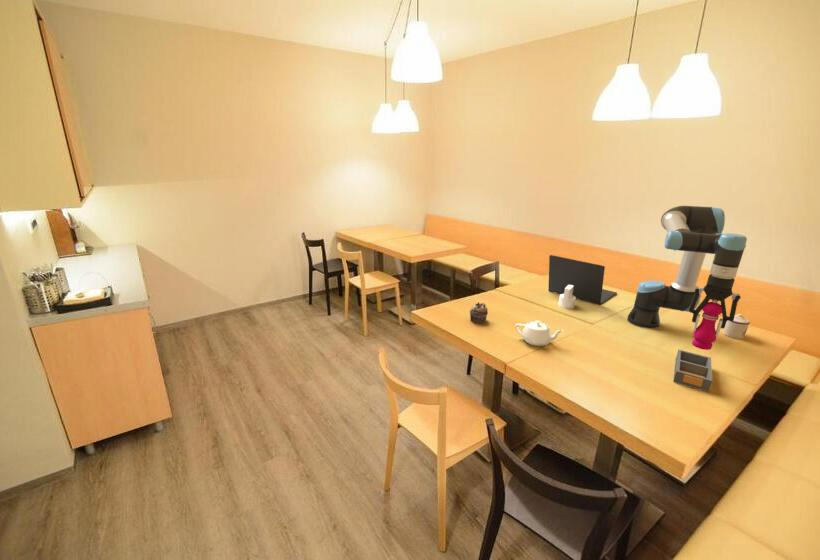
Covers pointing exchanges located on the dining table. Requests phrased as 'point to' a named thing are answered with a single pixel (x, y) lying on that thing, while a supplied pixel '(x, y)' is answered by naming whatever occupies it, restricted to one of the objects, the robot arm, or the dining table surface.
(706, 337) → the pepper mill
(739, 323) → the teacup with lid
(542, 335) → the teapot
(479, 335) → the dining table surface
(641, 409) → the dining table surface
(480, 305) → the cupcake
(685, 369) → the rack
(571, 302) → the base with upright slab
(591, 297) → the laptop
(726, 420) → the dining table surface
